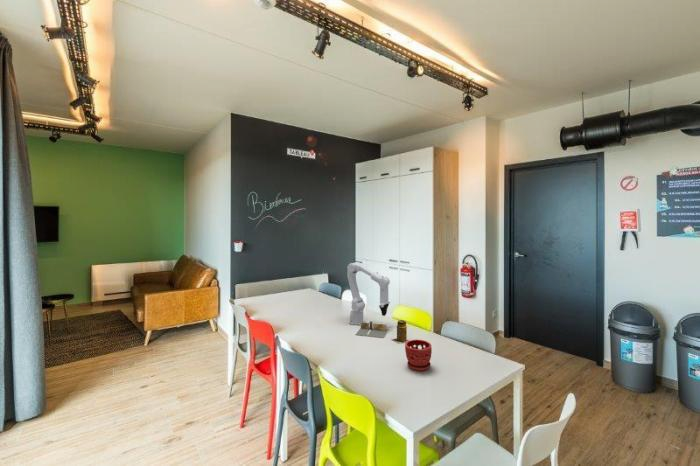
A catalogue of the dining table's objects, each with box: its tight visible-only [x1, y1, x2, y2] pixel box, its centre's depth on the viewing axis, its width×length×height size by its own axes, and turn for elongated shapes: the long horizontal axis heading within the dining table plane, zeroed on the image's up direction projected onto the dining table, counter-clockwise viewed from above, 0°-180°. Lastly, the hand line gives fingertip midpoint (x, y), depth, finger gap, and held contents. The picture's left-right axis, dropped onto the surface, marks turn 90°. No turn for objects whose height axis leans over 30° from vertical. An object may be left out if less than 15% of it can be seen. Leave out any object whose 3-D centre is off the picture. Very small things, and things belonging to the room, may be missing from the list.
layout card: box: [355, 326, 389, 339], centre depth 214 cm, size 19×17×1 cm
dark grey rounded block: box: [360, 320, 373, 330], centre depth 219 cm, size 8×2×5 cm, turn 72°
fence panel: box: [372, 322, 387, 331], centre depth 217 cm, size 9×1×4 cm, turn 72°
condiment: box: [391, 319, 410, 344], centre depth 199 cm, size 7×8×12 cm
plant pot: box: [404, 339, 433, 372], centre depth 164 cm, size 13×13×12 cm
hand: (384, 314), depth 221 cm, fingers open, 3 cm apart
